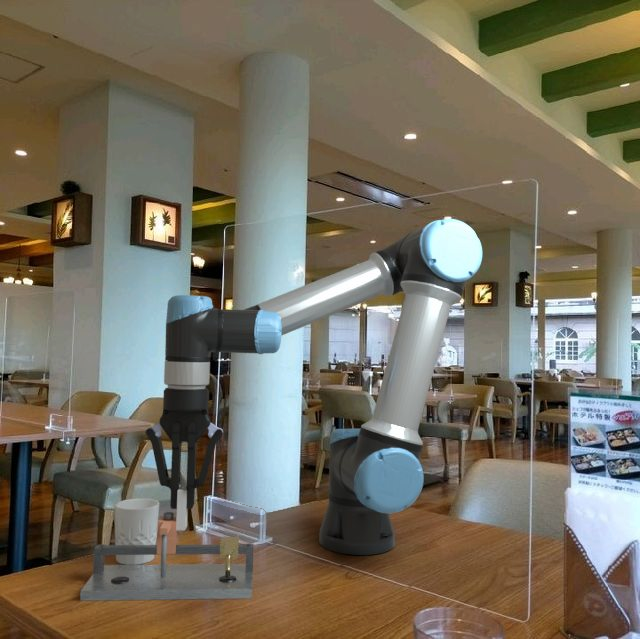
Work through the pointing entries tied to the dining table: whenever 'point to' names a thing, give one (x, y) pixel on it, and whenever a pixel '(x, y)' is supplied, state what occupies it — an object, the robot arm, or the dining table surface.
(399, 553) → the dining table surface
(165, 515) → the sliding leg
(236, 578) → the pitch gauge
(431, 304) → the robot arm
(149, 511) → the white cup
